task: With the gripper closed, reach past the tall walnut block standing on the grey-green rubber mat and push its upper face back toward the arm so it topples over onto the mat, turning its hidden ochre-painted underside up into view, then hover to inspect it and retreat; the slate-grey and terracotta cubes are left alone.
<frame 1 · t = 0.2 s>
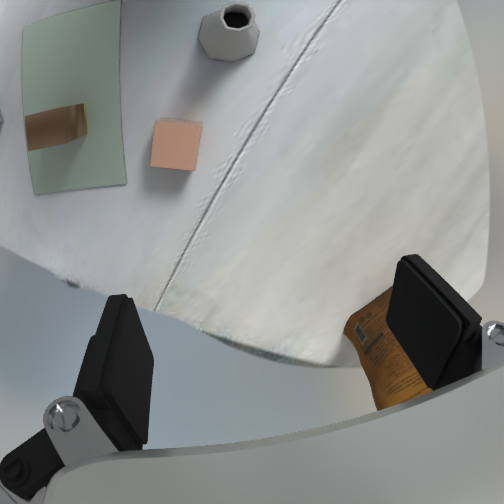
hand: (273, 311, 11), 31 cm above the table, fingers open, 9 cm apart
terracotta block: (178, 139, 36), on the table
walnut block: (68, 121, 32), resting on rubber mat
pancake mix bag: (377, 303, 54), on the table
rubber mat: (68, 98, 31), on the table
flask: (228, 35, 31), on the table
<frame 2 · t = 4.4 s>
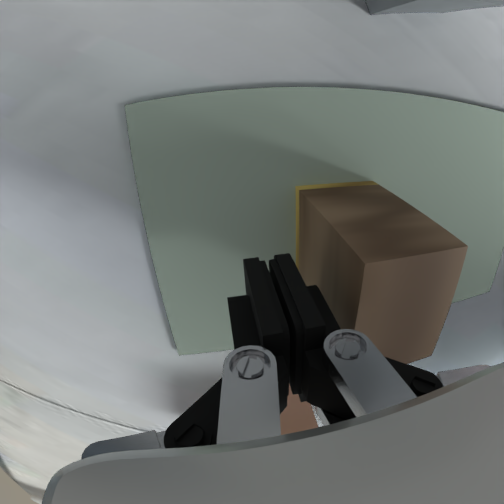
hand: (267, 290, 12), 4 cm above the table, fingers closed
terracotta block: (264, 402, 22), on the table
walnut block: (334, 231, 16), resting on rubber mat, touching gripper
rubber mat: (381, 222, 16), on the table
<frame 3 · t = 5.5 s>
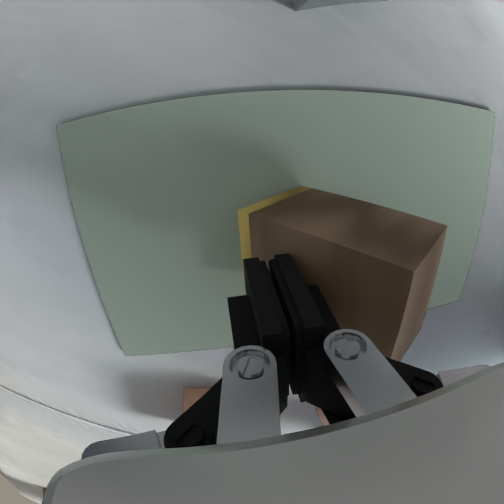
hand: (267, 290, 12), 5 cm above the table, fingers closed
terracotta block: (217, 405, 22), on the table
walnut block: (274, 248, 15), point 2 cm above the table, tilted 37°, touching gripper, rubber mat
rubber mat: (318, 228, 16), on the table
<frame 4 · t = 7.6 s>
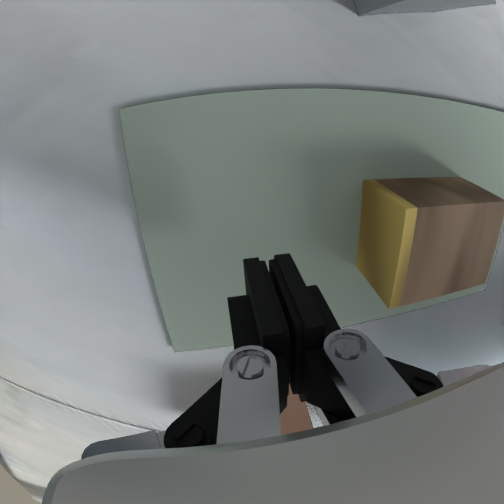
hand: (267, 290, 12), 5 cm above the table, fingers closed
terracotta block: (259, 399, 23), on the table
walnut block: (377, 242, 14), point 2 cm above the table, tilted 90°, touching rubber mat
rubber mat: (372, 220, 17), on the table
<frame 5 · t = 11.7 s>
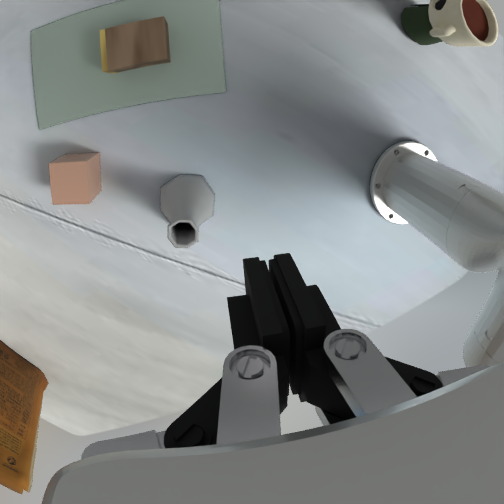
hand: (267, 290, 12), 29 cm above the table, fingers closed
terracotta block: (83, 172, 35), on the table
walnut block: (106, 52, 27), point 2 cm above the table, tilted 90°, touching rubber mat
pancake mix bag: (18, 358, 48), on the table
rubber mat: (119, 52, 29), on the table
character mug: (415, 25, 31), on the table
flask: (187, 200, 40), on the table
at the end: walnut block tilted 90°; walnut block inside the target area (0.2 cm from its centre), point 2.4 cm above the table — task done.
